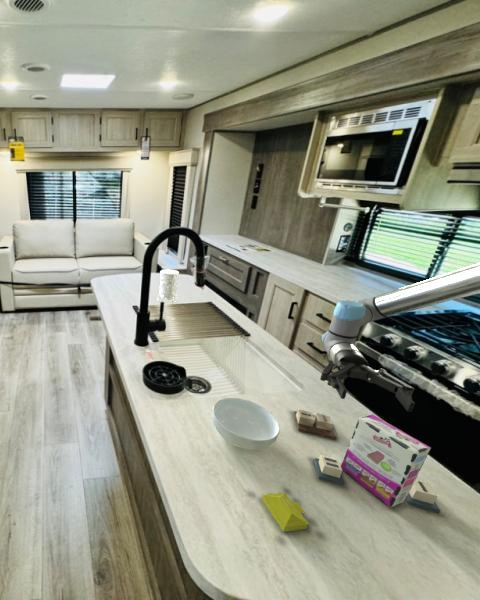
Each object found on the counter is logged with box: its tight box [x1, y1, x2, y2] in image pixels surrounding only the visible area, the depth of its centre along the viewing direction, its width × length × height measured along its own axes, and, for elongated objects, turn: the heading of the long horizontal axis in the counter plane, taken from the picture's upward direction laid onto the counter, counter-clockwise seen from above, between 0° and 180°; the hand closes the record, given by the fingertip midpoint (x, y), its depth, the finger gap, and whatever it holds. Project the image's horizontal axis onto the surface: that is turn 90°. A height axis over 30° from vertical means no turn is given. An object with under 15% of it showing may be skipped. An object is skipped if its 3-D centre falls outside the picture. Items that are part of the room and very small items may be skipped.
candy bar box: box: [340, 414, 432, 509], centre depth 72 cm, size 11×5×16 cm, turn 17°
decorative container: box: [157, 268, 180, 304], centre depth 189 cm, size 12×12×18 cm
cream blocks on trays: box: [312, 454, 441, 514], centre depth 75 cm, size 22×6×4 cm, turn 66°
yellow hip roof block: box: [257, 489, 322, 541], centre depth 69 cm, size 10×9×3 cm
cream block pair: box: [292, 408, 337, 441], centre depth 92 cm, size 9×8×4 cm
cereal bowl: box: [211, 397, 281, 451], centre depth 89 cm, size 17×17×7 cm
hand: (376, 400), depth 80 cm, fingers open, 13 cm apart
